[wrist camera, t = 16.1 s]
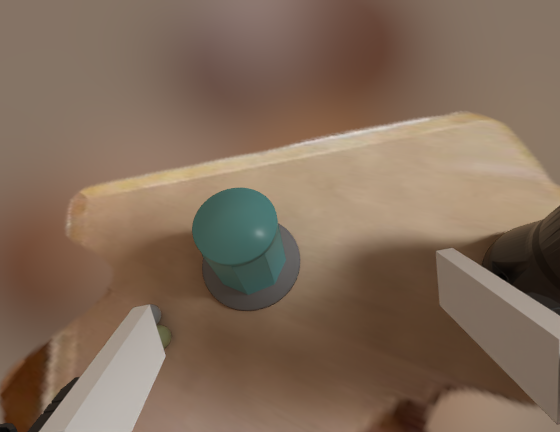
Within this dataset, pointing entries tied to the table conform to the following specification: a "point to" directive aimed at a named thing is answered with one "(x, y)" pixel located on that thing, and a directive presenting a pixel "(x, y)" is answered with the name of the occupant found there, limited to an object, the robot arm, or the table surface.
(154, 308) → the grey marble
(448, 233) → the table surface
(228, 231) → the teal piece
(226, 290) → the coaster
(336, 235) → the table surface
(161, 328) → the olive marble
